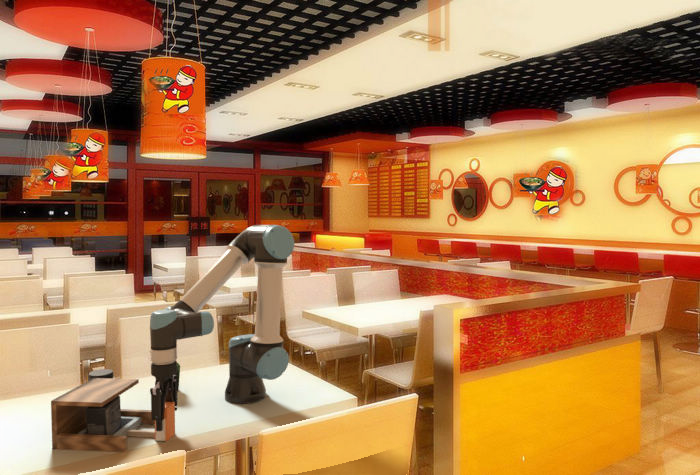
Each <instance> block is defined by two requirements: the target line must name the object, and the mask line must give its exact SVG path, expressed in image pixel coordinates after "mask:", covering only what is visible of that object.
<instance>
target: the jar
mask: <svg viewBox="0 0 700 475" xmlns="http://www.w3.org/2000/svg"><path fill="white" fill-rule="evenodd" d="M87 375H88V378H87V381H89V380H91V379H93V378H110V379H116V378H115V376H114V370H113V369H111V368H103V369H96V370H92V371H90V372H88V374H87Z"/></svg>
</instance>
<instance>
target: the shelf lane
mask: <svg viewBox="0 0 700 475" xmlns="http://www.w3.org/2000/svg"><path fill="white" fill-rule="evenodd" d="M139 381H140V380H139V378H137V379H136V378H115V379H110V378H93V379H91V380H89V381H88V380H87V381H86V382H84V383H82V384H79V385H78V386H75V388H73V389H70V390H69V391H67V392H65V393H63V394H61V395H59V396H57V397H56V398H54V399H52V400H51V401H50V406H51V407H50V412H51V413H50V414H51V415H50V418H51V448H52V450H72V451H73V450H74V451H91V452H92V451H94V452H95V451H96V452H114V453H115V452H116V453H117V452H118V453H119V452H121V453H122V452H123V453H125V452H126V451H127V450H128V436H113V435H88V434H78V433H79V432H81V431H82V430H84V429H85V428H86V408H88V407H89V406H95V407H102V406H104V405H105V404H107V403H108V402H110V401H111V400H113V399H114V398H116V397H118V396H121V395H122V394H124V393H126V392H127V391H129V390H130V389H132V388H133V387H135V386H136V385H138V384H139ZM121 416H133V417H141V422H142V424H143V425H155V420H151V409H150V410H149V409H128V408H127V409H125V408H121ZM142 424H141V425H142Z"/></svg>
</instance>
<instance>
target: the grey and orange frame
mask: <svg viewBox="0 0 700 475" xmlns="http://www.w3.org/2000/svg"><path fill="white" fill-rule="evenodd" d="M175 407H176V406H175V402H165V411H164V419H165V422H166V440H165V441H164V442H166V441H167V442H168V441H169V440H170V439H171V438H172V437H173V436H174V435H176V418H175V417H176V412H175ZM141 425H142V422H141V417H133V416H121V428H120V429H119V430H118V431H117V432H116V433H115V434H113V436H127V437H139V438H144V437H145V438H154V440H155V441H156V420H155V424H154V430H150V429H149V430H143V429H142V430H141V429H138V428H139V427H140V426H141ZM78 434H87V428H85V429H84V430H82V431H81V432H79V433H78Z"/></svg>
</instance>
